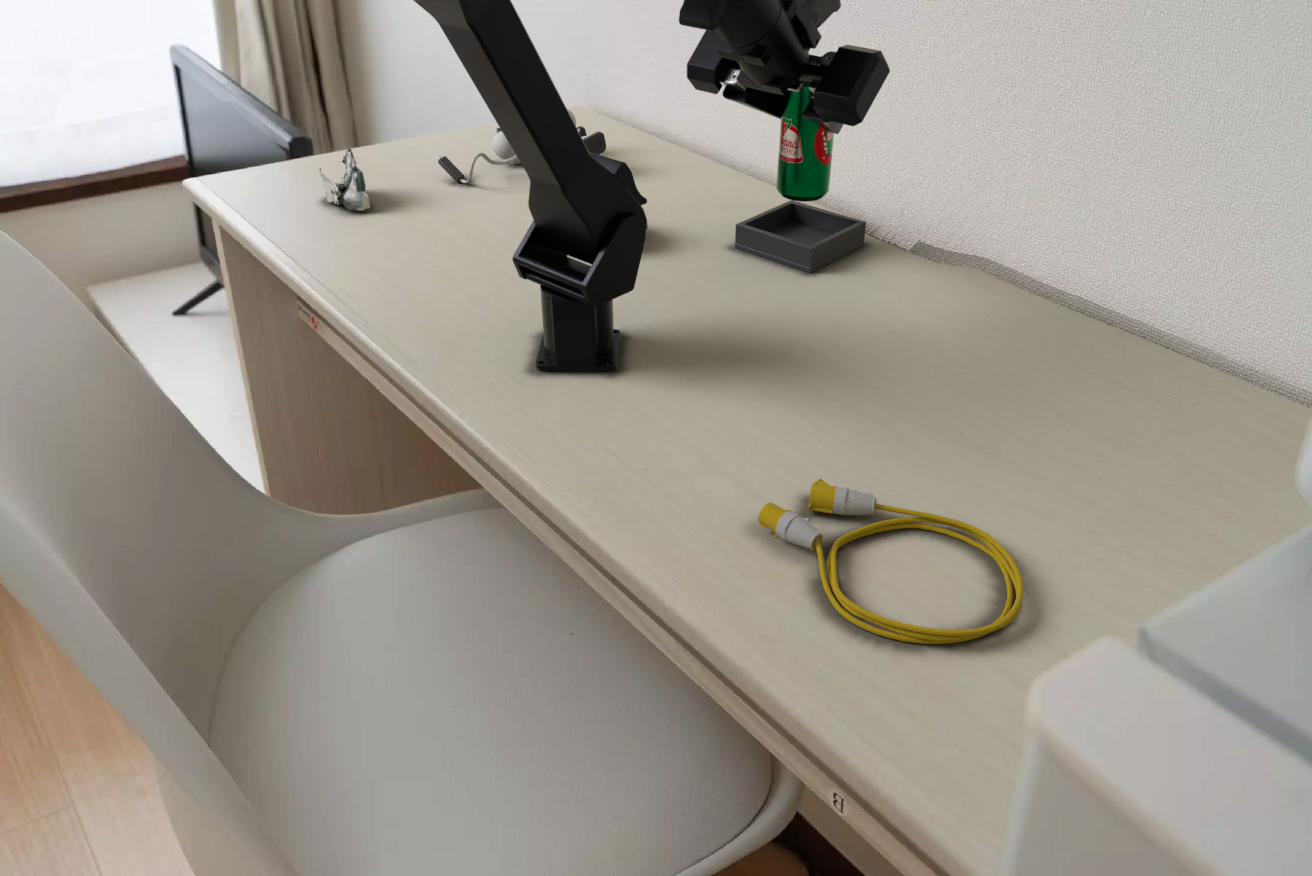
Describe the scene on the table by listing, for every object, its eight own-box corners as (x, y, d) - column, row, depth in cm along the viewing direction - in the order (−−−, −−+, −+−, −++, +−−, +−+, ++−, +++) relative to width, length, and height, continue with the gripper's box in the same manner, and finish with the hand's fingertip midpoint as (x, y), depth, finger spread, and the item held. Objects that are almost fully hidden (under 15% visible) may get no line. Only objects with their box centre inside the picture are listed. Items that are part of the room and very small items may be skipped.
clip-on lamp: (474, 222, 120) (613, 164, 125) (459, 173, 116) (603, 114, 121) (439, 182, 128) (571, 128, 133) (423, 134, 124) (560, 81, 129)
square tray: (810, 273, 101) (812, 248, 100) (734, 247, 106) (735, 224, 105) (864, 245, 107) (866, 221, 105) (790, 222, 112) (791, 199, 111)
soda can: (767, 188, 105) (775, 62, 98) (814, 183, 106) (825, 59, 100) (788, 205, 101) (798, 75, 94) (837, 200, 102) (849, 71, 96)
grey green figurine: (352, 190, 121) (342, 129, 117) (375, 211, 115) (365, 148, 111) (315, 197, 119) (303, 135, 115) (336, 219, 113) (325, 155, 110)
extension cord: (901, 473, 73) (905, 448, 72) (1065, 614, 61) (1072, 588, 60) (745, 518, 69) (746, 493, 68) (889, 680, 57) (893, 653, 56)
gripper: (892, -54, 83) (943, 68, 96) (710, -75, 94) (777, 37, 107) (824, 68, 82) (885, 174, 95) (649, 32, 93) (724, 132, 106)
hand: (816, 124), depth 101 cm, fingers closed on soda can, 5 cm apart
